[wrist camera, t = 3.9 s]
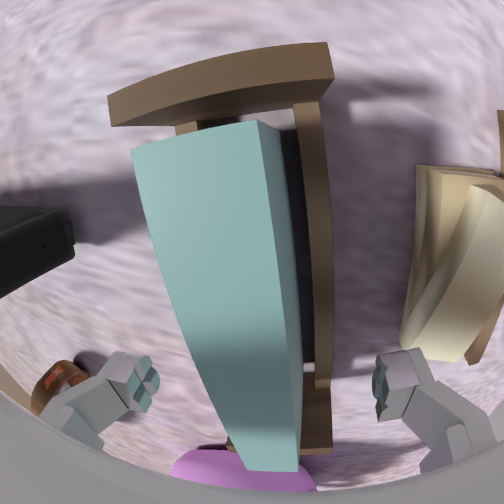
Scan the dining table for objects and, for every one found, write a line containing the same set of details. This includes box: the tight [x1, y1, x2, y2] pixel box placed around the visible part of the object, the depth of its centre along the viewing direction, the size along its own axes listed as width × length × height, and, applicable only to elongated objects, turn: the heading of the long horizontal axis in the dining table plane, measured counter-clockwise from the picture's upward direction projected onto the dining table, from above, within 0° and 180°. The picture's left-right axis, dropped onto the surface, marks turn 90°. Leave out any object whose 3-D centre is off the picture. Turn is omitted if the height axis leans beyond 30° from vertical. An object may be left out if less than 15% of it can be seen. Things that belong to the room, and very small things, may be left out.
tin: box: [31, 360, 89, 417], centre depth 21 cm, size 15×3×8 cm, turn 157°
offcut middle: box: [409, 169, 504, 316], centre depth 11 cm, size 9×5×2 cm, turn 6°
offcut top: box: [397, 185, 504, 363], centre depth 10 cm, size 8×4×2 cm, turn 166°
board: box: [130, 120, 303, 472], centre depth 11 cm, size 14×2×8 cm, turn 9°
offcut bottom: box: [399, 165, 494, 332], centre depth 12 cm, size 10×5×2 cm, turn 8°
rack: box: [107, 42, 504, 455], centre depth 10 cm, size 18×18×6 cm
